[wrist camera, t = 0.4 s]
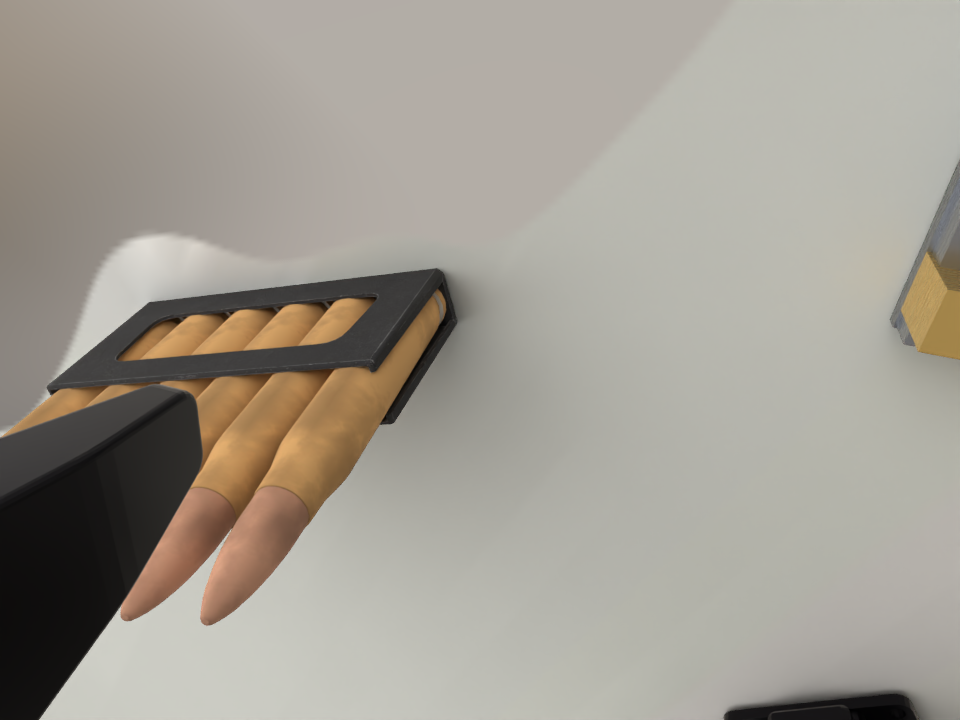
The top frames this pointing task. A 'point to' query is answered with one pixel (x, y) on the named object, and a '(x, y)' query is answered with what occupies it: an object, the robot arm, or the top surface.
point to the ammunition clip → (263, 410)
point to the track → (935, 284)
